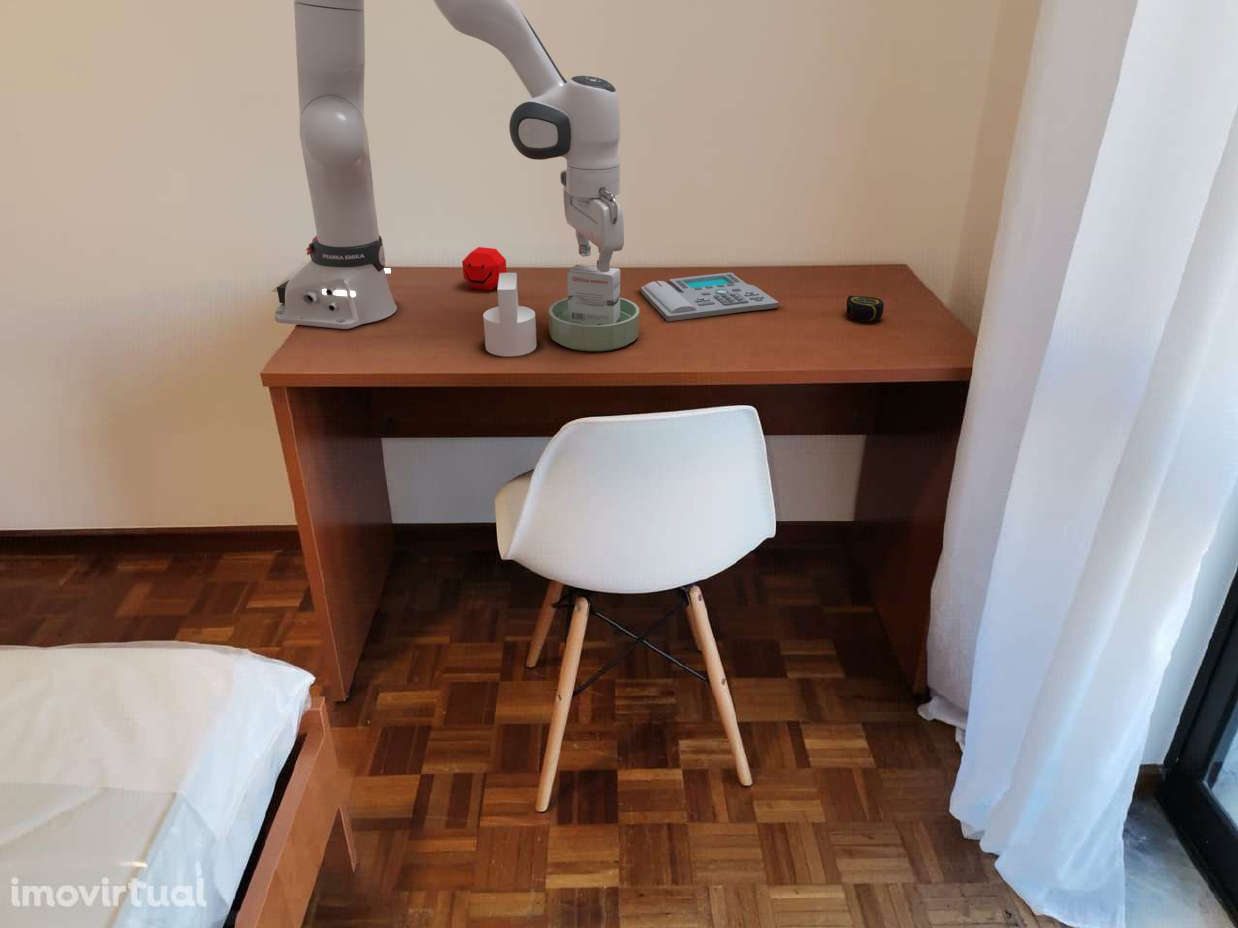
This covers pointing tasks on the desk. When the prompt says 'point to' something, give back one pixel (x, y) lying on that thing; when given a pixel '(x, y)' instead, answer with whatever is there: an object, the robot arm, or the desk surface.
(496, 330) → the base with upright slab
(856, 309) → the tape measure
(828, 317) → the desk surface
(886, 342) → the desk surface
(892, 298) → the desk surface
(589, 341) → the bowl
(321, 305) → the robot arm
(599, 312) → the ink box
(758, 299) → the office telephone
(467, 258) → the ball
